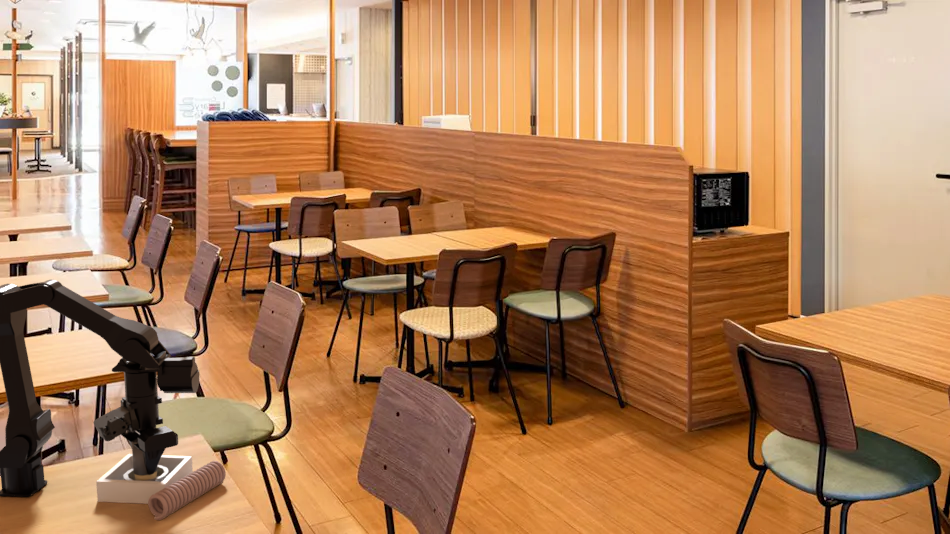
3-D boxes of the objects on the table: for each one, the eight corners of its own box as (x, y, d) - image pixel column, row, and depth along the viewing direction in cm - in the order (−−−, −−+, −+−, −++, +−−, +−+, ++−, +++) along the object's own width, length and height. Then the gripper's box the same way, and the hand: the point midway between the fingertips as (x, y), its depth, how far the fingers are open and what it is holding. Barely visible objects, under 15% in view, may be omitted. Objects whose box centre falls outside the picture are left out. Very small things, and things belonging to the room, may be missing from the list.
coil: (165, 500, 150) (229, 462, 166) (144, 493, 151) (210, 456, 168) (164, 524, 151) (228, 484, 167) (143, 517, 152) (209, 478, 169)
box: (97, 501, 158) (96, 481, 157) (129, 472, 171) (128, 453, 170) (165, 504, 157) (164, 484, 157) (192, 475, 170) (191, 456, 169)
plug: (129, 484, 162) (127, 444, 160) (140, 475, 166) (137, 436, 165) (152, 485, 162) (150, 445, 160) (162, 475, 166) (160, 437, 164)
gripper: (80, 389, 162) (85, 465, 165) (115, 415, 149) (120, 499, 151) (139, 377, 170) (143, 451, 172) (177, 402, 156) (181, 482, 159)
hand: (145, 470), depth 163 cm, fingers closed on plug, 4 cm apart
